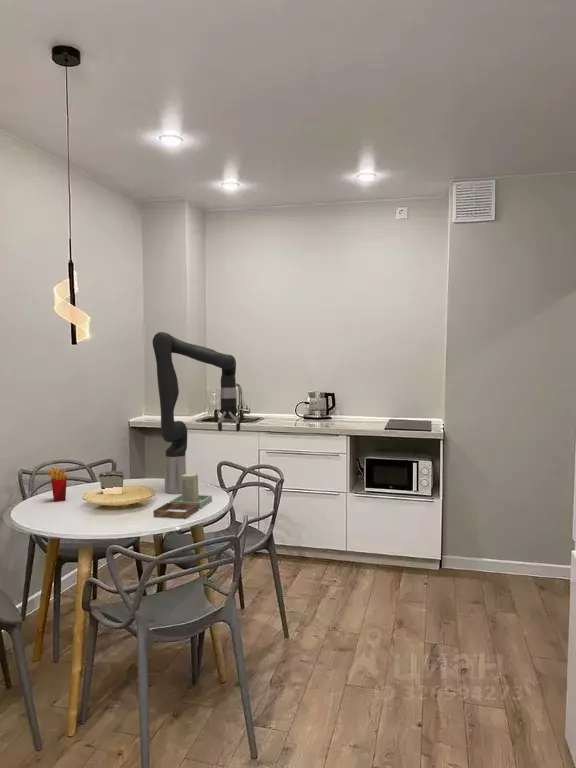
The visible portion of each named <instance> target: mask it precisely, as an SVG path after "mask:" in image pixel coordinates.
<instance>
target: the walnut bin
mask: <svg viewBox="0 0 576 768" xmlns="http://www.w3.org/2000/svg"><path fill="white" fill-rule="evenodd" d="M177 509H181V510H180V511H175V510H177ZM182 510H183V511H182ZM196 511H197V512H198V511H200V509H199V504H184V503H170V502H166V503H164V504H163V505H161V506H159V507H157V508H156V509H154V510H153V517H154V518H163V517H169V518H168V519H180V518H184V520H186V518H187V519H188V518H189V517H191V516H192V515H194V514H195V513H196ZM193 513H194V514H193ZM190 515H191V516H190Z"/></svg>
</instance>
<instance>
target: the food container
mask: <svg viewBox="0 0 576 768" xmlns="http://www.w3.org/2000/svg"><path fill="white" fill-rule="evenodd" d="M98 478H99V481H100V489H105V488H113V487H123V488H124V478H126V476H125V473H124V471H121V470H120V471H119V470H111V471H110V470H109V471H108V470H107V471H103V472H99V474H98Z"/></svg>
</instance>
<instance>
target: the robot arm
mask: <svg viewBox="0 0 576 768" xmlns="http://www.w3.org/2000/svg"><path fill="white" fill-rule="evenodd" d="M152 347H153V352H154V357H155V362H156V375H157V377H156V378H157V379H156V380H157V386H158V387H157V389H158V396H159V404H160V434H161V436H162V439H163V440H164V441H165V442H166V443H171V444H170V446H169V447H168V448H167V449H166V450H165V472H164V474H163V475H164V493H167V494H172V495H174V494H177V495H178V494H182V487H181V476H182V475H184V474H187V465H186V464H187V462H186V461H187V458H186V451H187V450H188V429H187V425H186V423H184V422H183V421H181V420H176V421H175V414H174V413H175V412H174V411H175V408H176V404H177V401H178V398H179V393H180V389H179V381H178V376H177V372H176V369H175V366H174V363H173V357H172V356H173V355H172V354H177V355H181V356H185V357H187V358H190V359H192V360H195V361H196V362H197V361H198V362H200V363H205V364H207V365H212V366H214V367H217V368H219V369H221V376H220V391H219V392H220V394H219V397H220V409H218V408H216V409H214V410H213V422H214V423H217V429H218V431H219V432H222V431H223V423H222V422H223V421H224V419H226V420H227V419H231V420H232V419H233V421H235V423H236V424H235V426H236V427H235V431H236V432H237V433H238V432H240V430H241V423H244V421H245V415H244V409H242V408H241V409H237V406H238V404H237V403H238V402H237V399H238V398H237V388H236V386H237V385H236V382H237V381H236V371H237V361H236V357H234V356H233V355H232V354H227V353H226V354H225V353H222V352H219V351H217V350H214V349H211V348H208V347H205V346H201V345H198V344H192V343H189V342H186V341H183V340H181V339H179V338H177V337H175V336H173V335H171V334H170V333H168V332H165V331H159V332H157V333H156V334H154V335H153V338H152ZM219 414H220V415H221V416H220V417H219ZM237 414H238V415H239V417H238V415H237Z"/></svg>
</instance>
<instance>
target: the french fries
mask: <svg viewBox="0 0 576 768" xmlns="http://www.w3.org/2000/svg"><path fill="white" fill-rule="evenodd" d="M66 471H67V469H63V470H61V471H60V470H59V468H58V467H54V466H52V467H51V470H50V471H45V474H47V475H48V476H49V477H50V479H51V480H50V481H51V489H52V490H51V491H52V496H53V497H52V498H53V502H54V503H58V502H66V497H67V476H68V473H65V472H66Z"/></svg>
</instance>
